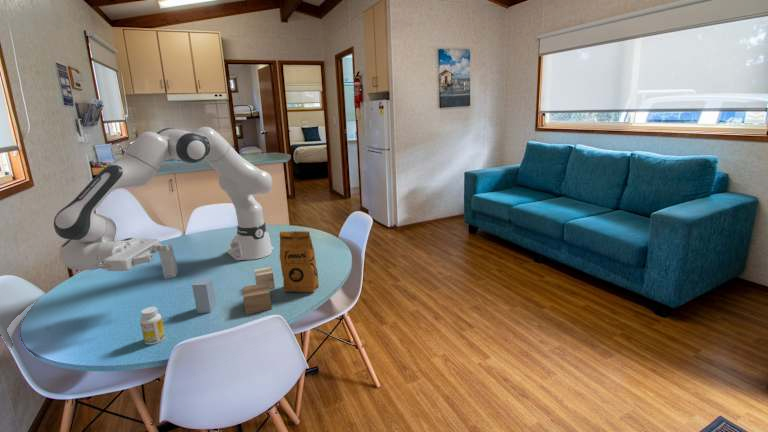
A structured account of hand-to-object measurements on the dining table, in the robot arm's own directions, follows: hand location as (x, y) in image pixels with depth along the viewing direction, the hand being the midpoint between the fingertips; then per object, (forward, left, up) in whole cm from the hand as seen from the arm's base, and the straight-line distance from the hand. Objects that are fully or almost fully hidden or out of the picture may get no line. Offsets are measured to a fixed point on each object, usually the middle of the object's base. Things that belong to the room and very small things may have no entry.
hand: (159, 253), depth 127 cm
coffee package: (+22, +37, -20) cm, 48 cm away
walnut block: (+21, +20, -20) cm, 35 cm away
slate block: (+9, +8, -20) cm, 23 cm away
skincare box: (-32, +12, -20) cm, 40 cm away
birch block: (+9, +30, -20) cm, 37 cm away
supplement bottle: (+15, -10, -20) cm, 27 cm away
